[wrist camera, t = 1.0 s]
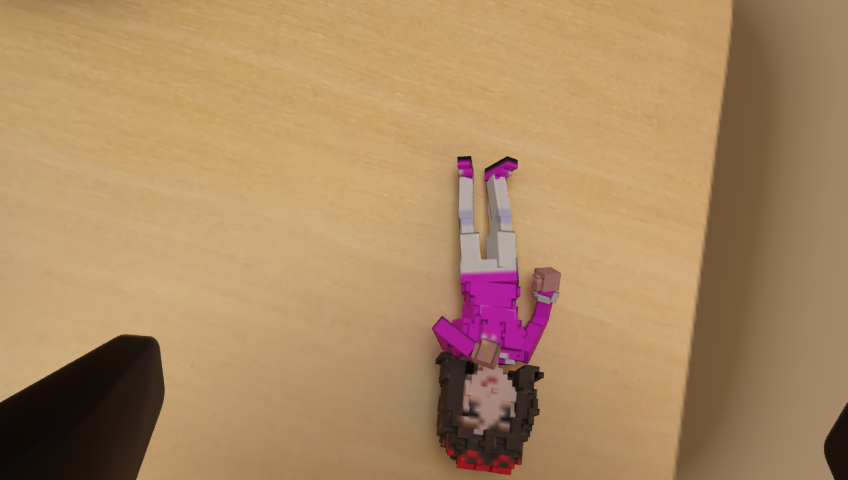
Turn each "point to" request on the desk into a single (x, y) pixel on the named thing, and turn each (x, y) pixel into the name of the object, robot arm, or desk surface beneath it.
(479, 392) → the character figurine
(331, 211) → the desk surface
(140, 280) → the desk surface
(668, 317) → the desk surface
